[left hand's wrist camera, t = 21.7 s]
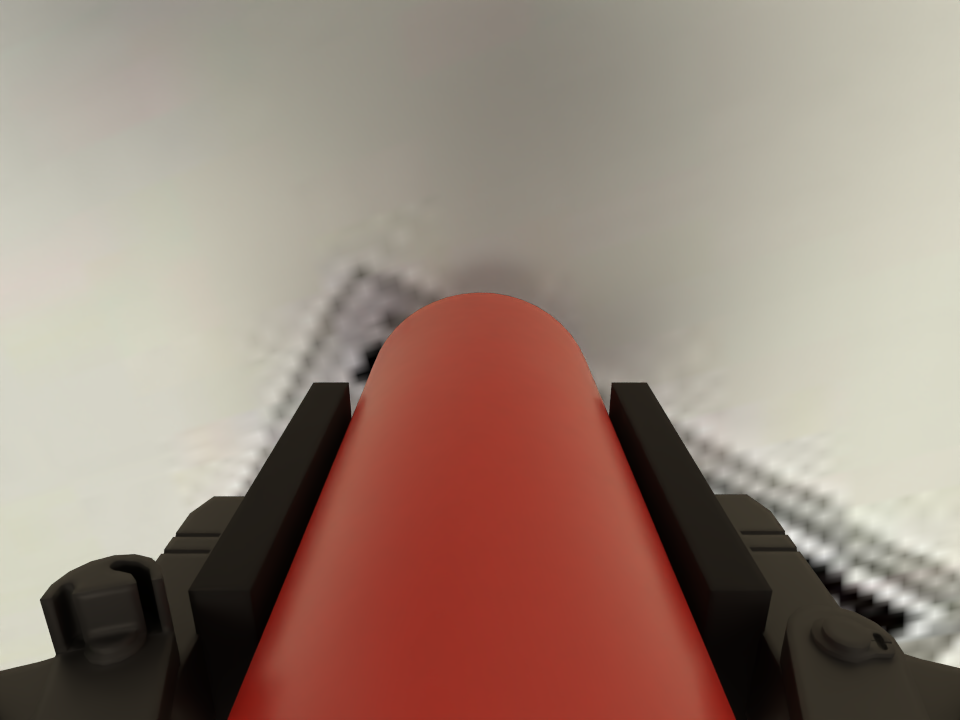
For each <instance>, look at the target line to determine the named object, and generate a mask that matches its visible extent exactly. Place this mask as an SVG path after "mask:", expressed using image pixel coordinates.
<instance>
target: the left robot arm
mask: <svg viewBox="0 0 960 720" xmlns="http://www.w3.org/2000/svg"><path fill="white" fill-rule="evenodd" d="M609 417H610V420H611V422H612V425H613V427H614V429H615V432H616V434H617V437H618V439H619V441H620V444H621V446H622V449H623V451H624V453H625V456H626V458H627V460H628V463H629V465H630V468H631V470H632V472H633V475H634V477H635V480H636V482H637V484H638V487H639V489H640V492H641V494H642V496H643V499H644V501H645V503H646V506H647V508H648V511H649V513H650V515H651V518H652V520H653V523H654V525H655V527H656V530H657V532H658V535H659V537H660V539H661V542H662V544H663V546H664V549H665V551H666V554H667V556H668V558H669V561H670V563H671V566H672V568H673V570H674V573H675V575H676V578H677V580H678V582H679V585H680V587H681V589H682V592H683V594H684V597H685V599H686V601H687V604H688V606H689V609H690V611H691V613H692V616H693V618H694V621H695V623H696V625H697V628H698V630H699V632H700V635H701V637H702V640H703V642H704V644H705V647H706V649H707V652H708V654H709V656H710V659H711V661H712V664H713V666H714V668H715V671H716V673H717V675H718V678H719V680H720V683H721V685H722V687H723V690H724V692H725V695H726V697H727V699H728V702H729V704H730V707H731V709H732V711H733V714H734V716H735V718H736V720H960V668H957V667H952V666H948V665H944V664H940V663H935V662H931V661H927V660H922V659H919V658H915V657H912V656H909V655H906V654H904V653H903V651H902V650H901V648H900V647H899V645H898V644H897V642H896V641H895V639H894V638H893V637H892V636H891V635H890V634H889V633H887V632H886V631H885V630H884V629H883V628H881V627H880V626H879V625H878V624H877V623H875V622H873V621H871V620H869V619H867V618H865V617H863V616H861V615H860V614H858V613H856V612H852V611H849V610H846V609H842V608H840V607H839V606H838V604H837V603H836V601H835V600H834V599H833V597H832V596H831V594H830V593H829V592H828V590H827V589H826V587H825V586H824V585H823V583H822V582H821V581H820V579H819V578H818V576H817V575H816V574H815V572H814V571H813V569H812V568H811V567H810V565H809V564H808V562H807V561H806V560H805V558H804V557H803V556H802V554H801V553H800V552H797V547H796V546H795V544H794V543H793V542H792V540H791V539H790V537H789V536H788V535H785V530H784V529H783V528H782V526H781V525H780V524H779V522H778V521H777V519H776V518H775V517H774V515H773V514H772V512H771V511H770V510H768V509H767V508H765V507H764V506H762V505H761V504H760V503H758V502H757V501H755V500H754V499H753V498H751V497H750V496H748V495H747V494H714V493H713V491H712V490H711V488H710V486H709V485H708V483H707V481H706V480H705V478H704V476H703V475H702V473H701V471H700V470H699V468H698V466H697V465H696V463H695V462H694V460H693V458H692V457H691V455H690V453H689V452H688V450H687V448H686V447H685V445H684V443H683V442H682V440H681V438H680V437H679V435H678V433H677V432H676V430H675V428H674V427H673V425H672V424H671V422H670V420H669V419H668V417H667V415H666V414H665V412H664V410H663V409H662V407H661V405H660V404H659V402H658V400H657V399H656V397H655V395H654V394H653V392H652V390H651V389H650V387H649V385H648V384H647V383H612V385H611V398H610V411H609ZM350 421H351V406H350V393H349V383H313V384H312V386H311V388H310V389H309V391H308V393H307V394H306V396H305V398H304V399H303V401H302V403H301V404H300V406H299V408H298V409H297V411H296V413H295V414H294V416H293V418H292V419H291V421H290V423H289V424H288V426H287V427H286V429H285V431H284V432H283V434H282V436H281V437H280V439H279V441H278V442H277V444H276V446H275V447H274V449H273V451H272V452H271V454H270V456H269V457H268V459H267V461H266V462H265V464H264V466H263V467H262V469H261V470H260V472H259V474H258V475H257V477H256V479H255V480H254V482H253V484H252V485H251V487H250V489H249V490H248V492H247V494H246V495H245V496H214V497H213V498H211V499H210V500H208V501H207V502H205V503H204V504H203V505H201V506H200V507H198V508H197V509H196V510H194V511H193V512H191V513H190V514H189V516H188V517H187V518H186V520H185V521H184V523H183V524H182V525H181V527H180V528H179V530H178V531H177V532H176V537H173V538H172V539H171V541H170V542H169V544H168V545H167V546H166V548H165V549H164V554H161V555H160V556H159V558H158V559H157V560H156V562H155V561H154V560H153V559H152V558H149V557H145V556H141V555H136V554H130V555H114V556H110V557H106V558H102V559H99V560H95V561H91V562H89V563H87V564H85V565H82V566H80V567H78V568H76V569H74V570H72V571H70V572H68V573H67V574H65V575H64V576H63V577H61V578H60V579H59V580H57V581H56V582H55V583H53V584H52V585H51V586H50V587H49V589H48V590H47V591H46V592H45V594H44V595H43V596H42V598H41V599H40V602H41V605H42V609H43V612H44V615H45V619H46V622H47V625H48V629H49V632H50V636H51V639H52V642H53V646H54V649H55V652H56V656H55V657H54V658H51V659H48V660H44V661H41V662H37V663H33V664H28V665H24V666H20V667H16V668H11V669H7V670H3V671H0V720H227V719H228V717H229V714H230V712H231V709H232V707H233V705H234V702H235V700H236V697H237V695H238V692H239V690H240V688H241V685H242V683H243V680H244V678H245V675H246V673H247V671H248V668H249V666H250V663H251V661H252V658H253V656H254V654H255V651H256V649H257V646H258V644H259V642H260V639H261V637H262V634H263V632H264V629H265V627H266V625H267V622H268V620H269V617H270V615H271V612H272V610H273V608H274V605H275V603H276V600H277V598H278V595H279V593H280V591H281V588H282V586H283V583H284V581H285V579H286V576H287V574H288V571H289V569H290V566H291V564H292V562H293V559H294V557H295V554H296V552H297V549H298V547H299V545H300V542H301V540H302V537H303V535H304V532H305V530H306V528H307V525H308V523H309V520H310V518H311V516H312V513H313V511H314V508H315V506H316V503H317V501H318V499H319V496H320V494H321V491H322V489H323V486H324V484H325V482H326V479H327V477H328V474H329V472H330V469H331V467H332V465H333V462H334V460H335V457H336V455H337V452H338V450H339V448H340V445H341V443H342V440H343V438H344V436H345V433H346V431H347V428H348V426H349V423H350Z"/></svg>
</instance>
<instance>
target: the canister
mask: <svg viewBox="0 0 960 720" xmlns="http://www.w3.org/2000/svg"><path fill="white" fill-rule="evenodd" d="M227 720H736V718H735V716H734V714H733V711H732V709H731V707H730V704H729V702H728V699H727V697H726V695H725V692H724V690H723V687H722V685H721V683H720V680H719V678H718V675H717V673H716V671H715V668H714V666H713V664H712V661H711V659H710V656H709V654H708V652H707V649H706V647H705V644H704V642H703V640H702V637H701V635H700V632H699V630H698V628H697V625H696V623H695V621H694V618H693V616H692V613H691V611H690V609H689V606H688V604H687V601H686V599H685V597H684V594H683V592H682V589H681V587H680V585H679V582H678V580H677V578H676V575H675V573H674V570H673V568H672V566H671V563H670V561H669V558H668V556H667V554H666V551H665V549H664V546H663V544H662V542H661V539H660V537H659V535H658V532H657V530H656V527H655V525H654V523H653V520H652V518H651V515H650V513H649V511H648V508H647V506H646V503H645V501H644V499H643V496H642V494H641V492H640V489H639V487H638V484H637V482H636V480H635V477H634V475H633V472H632V470H631V468H630V465H629V463H628V460H627V458H626V456H625V453H624V451H623V449H622V446H621V444H620V441H619V439H618V437H617V434H616V432H615V429H614V427H613V425H612V422H611V420H610V417H609V415H608V413H607V410H606V408H605V406H604V403H603V401H602V398H601V396H600V394H599V391H598V389H597V386H596V384H595V382H594V379H593V377H592V374H591V372H590V370H589V367H588V365H587V363H586V360H585V358H584V356H583V354H582V352H581V350H580V348H579V346H578V344H577V343H576V342H575V340H574V339H573V337H572V336H571V334H570V333H569V332H568V331H567V330H566V329H565V328H564V327H563V326H562V325H561V324H560V323H559V322H558V321H557V320H556V319H554V318H553V317H552V316H551V315H550V314H548V313H546V312H545V311H543V310H542V309H540V308H538V307H537V306H535V305H532V304H530V303H528V302H526V301H523V300H520V299H517V298H514V297H511V296H507V295H501V294H495V293H468V294H460V295H455V296H451V297H446V298H444V299H441V300H438V301H435V302H433V303H431V304H429V305H427V306H425V307H423V308H421V309H419V310H418V311H416V312H415V313H413V314H412V315H410V316H409V317H407V318H406V319H405V320H404V321H403V322H402V323H401V324H400V325H399V326H398V327H396V329H395V330H394V331H393V332H392V333H391V335H390V336H389V337H388V338H387V340H386V341H385V343H384V345H383V346H382V348H381V350H380V351H379V354H378V356H377V358H376V361H375V363H374V365H373V368H372V370H371V373H370V375H369V377H368V380H367V382H366V385H365V387H364V389H363V392H362V394H361V397H360V399H359V402H358V404H357V406H356V409H355V411H354V414H353V416H352V419H351V421H350V423H349V426H348V428H347V431H346V433H345V436H344V438H343V440H342V443H341V445H340V448H339V450H338V452H337V455H336V457H335V460H334V462H333V465H332V467H331V469H330V472H329V474H328V477H327V479H326V482H325V484H324V486H323V489H322V491H321V494H320V496H319V499H318V501H317V503H316V506H315V508H314V511H313V513H312V516H311V518H310V520H309V523H308V525H307V528H306V530H305V532H304V535H303V537H302V540H301V542H300V545H299V547H298V549H297V552H296V554H295V557H294V559H293V562H292V564H291V566H290V569H289V571H288V574H287V576H286V579H285V581H284V583H283V586H282V588H281V591H280V593H279V595H278V598H277V600H276V603H275V605H274V608H273V610H272V612H271V615H270V617H269V620H268V622H267V625H266V627H265V629H264V632H263V634H262V637H261V639H260V642H259V644H258V646H257V649H256V651H255V654H254V656H253V658H252V661H251V663H250V666H249V668H248V671H247V673H246V675H245V678H244V680H243V683H242V685H241V688H240V690H239V692H238V695H237V697H236V700H235V702H234V705H233V707H232V709H231V712H230V714H229V717H228V719H227Z"/></svg>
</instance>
